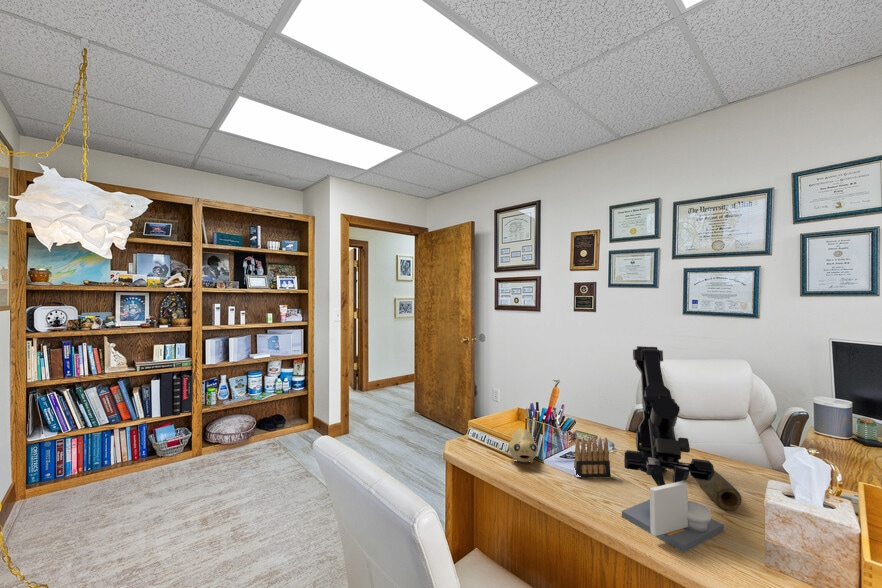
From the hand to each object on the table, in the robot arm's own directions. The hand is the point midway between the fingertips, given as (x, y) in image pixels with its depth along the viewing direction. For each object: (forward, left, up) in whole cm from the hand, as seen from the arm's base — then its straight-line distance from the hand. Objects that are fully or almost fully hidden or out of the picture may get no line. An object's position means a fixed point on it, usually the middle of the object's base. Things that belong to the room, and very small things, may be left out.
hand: (671, 501), depth 87 cm
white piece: (+2, 0, -5) cm, 5 cm away
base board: (-2, +3, -7) cm, 8 cm away
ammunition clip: (-28, +6, -7) cm, 30 cm away
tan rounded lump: (-46, -6, -7) cm, 47 cm away
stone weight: (-3, +26, -7) cm, 27 cm away
